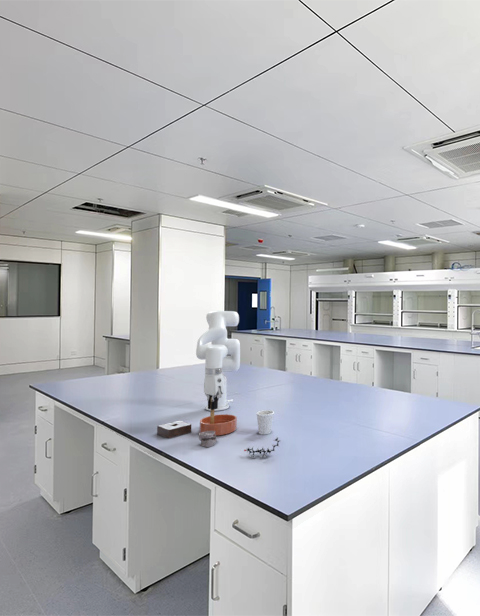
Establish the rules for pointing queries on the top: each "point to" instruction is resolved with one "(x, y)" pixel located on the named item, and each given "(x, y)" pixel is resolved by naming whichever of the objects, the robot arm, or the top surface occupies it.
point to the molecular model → (262, 449)
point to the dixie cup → (265, 421)
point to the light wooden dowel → (212, 415)
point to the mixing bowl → (219, 424)
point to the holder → (174, 429)
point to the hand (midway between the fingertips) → (212, 408)
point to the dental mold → (207, 438)
